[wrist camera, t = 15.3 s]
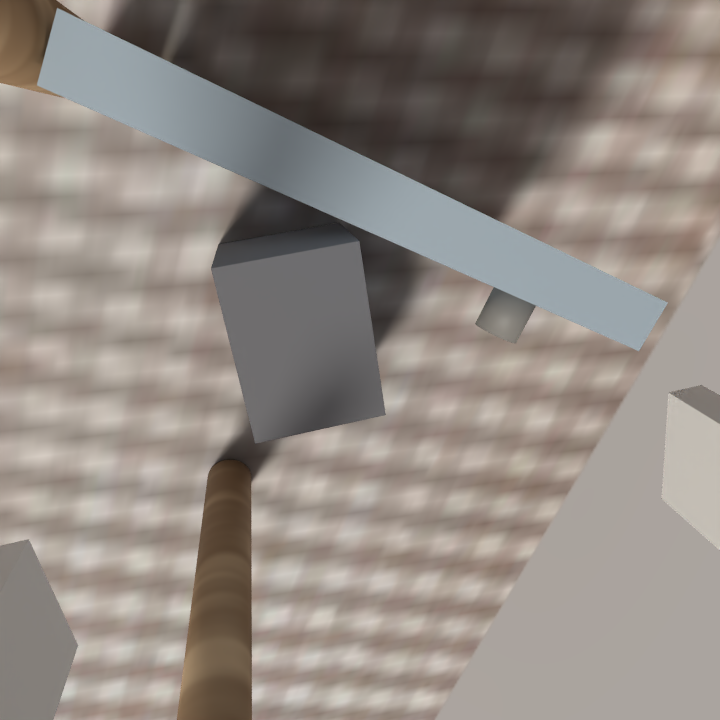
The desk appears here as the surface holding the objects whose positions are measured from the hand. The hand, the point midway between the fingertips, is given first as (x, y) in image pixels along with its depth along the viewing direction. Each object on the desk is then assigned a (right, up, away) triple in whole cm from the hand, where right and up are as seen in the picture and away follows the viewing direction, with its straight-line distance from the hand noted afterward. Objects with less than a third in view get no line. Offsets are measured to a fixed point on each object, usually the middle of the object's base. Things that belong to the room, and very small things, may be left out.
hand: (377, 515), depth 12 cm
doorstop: (-4, +6, +18) cm, 20 cm away
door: (-2, +11, +15) cm, 19 cm away
